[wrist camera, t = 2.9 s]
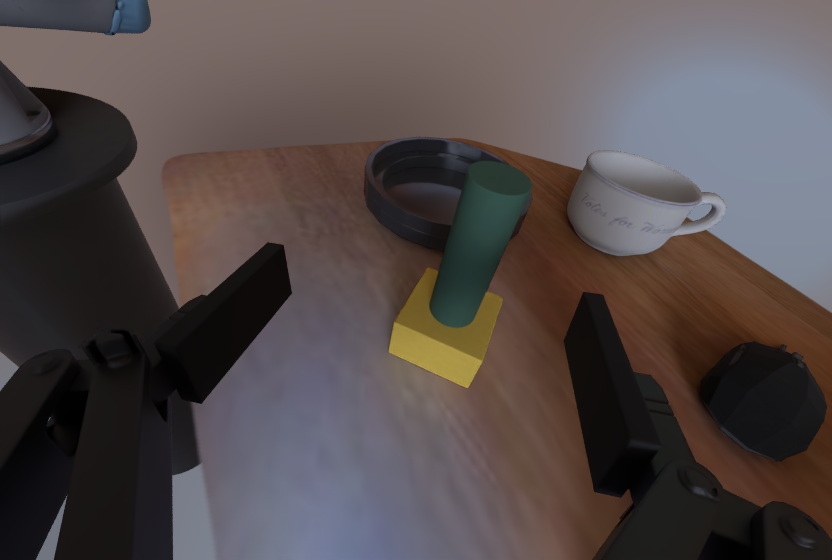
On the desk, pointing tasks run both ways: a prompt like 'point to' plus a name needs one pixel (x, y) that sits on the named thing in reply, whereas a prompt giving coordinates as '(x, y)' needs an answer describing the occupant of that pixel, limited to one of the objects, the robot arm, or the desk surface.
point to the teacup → (635, 204)
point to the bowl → (422, 186)
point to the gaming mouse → (764, 400)
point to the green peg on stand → (463, 278)
